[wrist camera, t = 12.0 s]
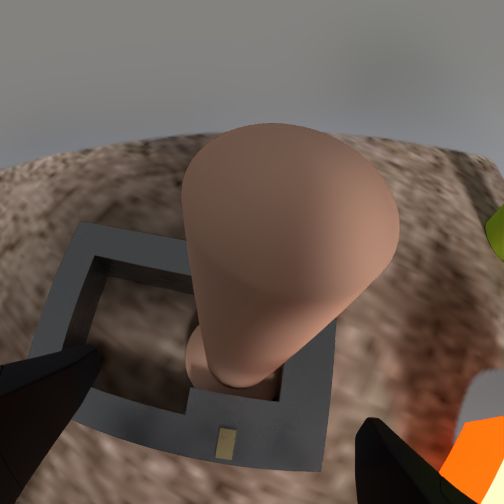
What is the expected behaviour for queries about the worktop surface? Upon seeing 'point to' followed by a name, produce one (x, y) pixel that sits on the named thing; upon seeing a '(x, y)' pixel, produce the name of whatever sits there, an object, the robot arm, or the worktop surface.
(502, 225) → the soap dispenser
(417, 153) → the worktop surface
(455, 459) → the orange juice
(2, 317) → the worktop surface
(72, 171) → the worktop surface
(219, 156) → the peg
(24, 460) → the robot arm
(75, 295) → the keyhole plate
